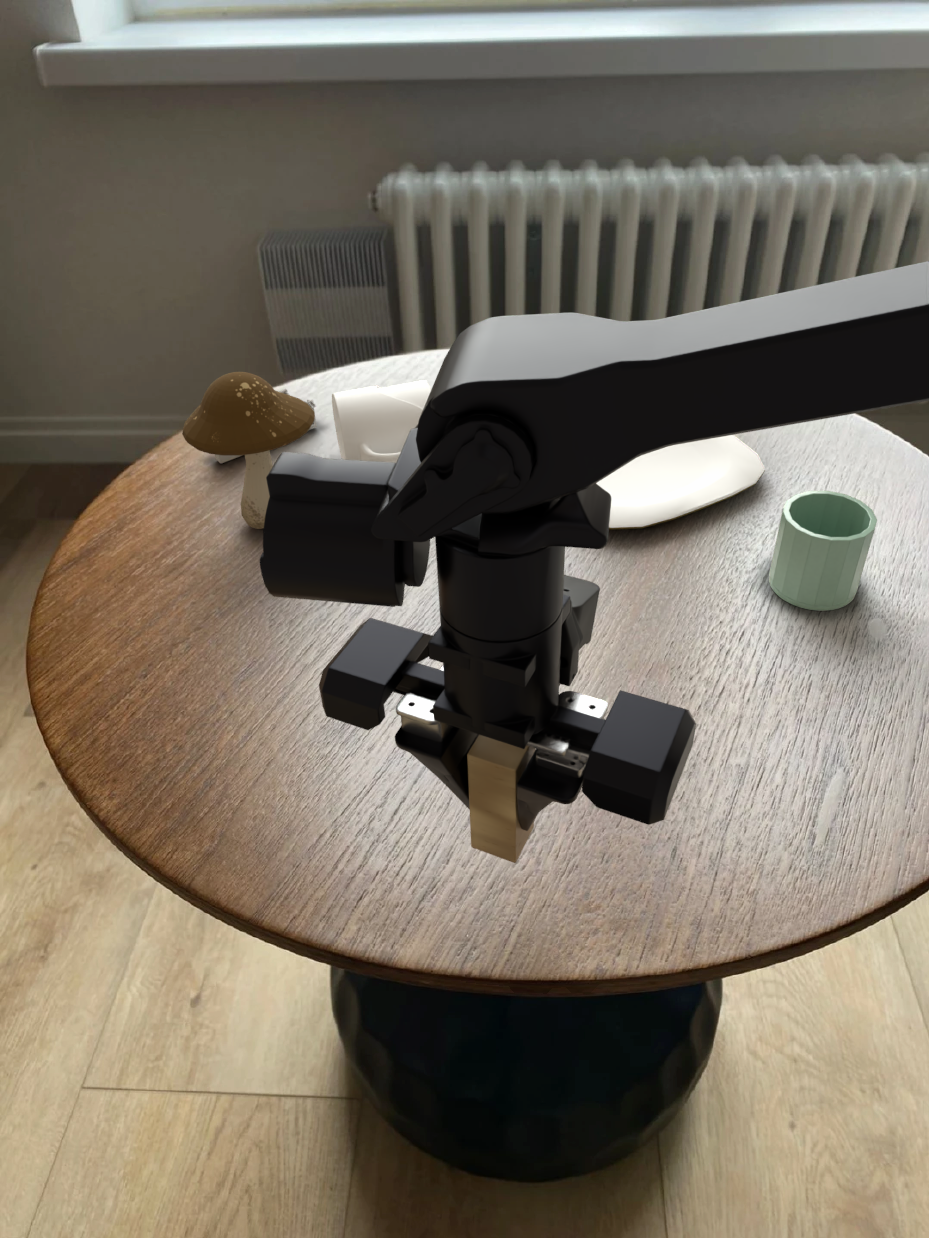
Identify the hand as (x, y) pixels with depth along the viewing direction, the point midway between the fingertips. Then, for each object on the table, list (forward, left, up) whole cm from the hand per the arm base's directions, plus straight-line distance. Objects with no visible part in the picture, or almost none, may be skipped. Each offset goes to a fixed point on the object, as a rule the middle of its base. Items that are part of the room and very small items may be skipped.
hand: (502, 815), depth 55 cm
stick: (0, 0, -2) cm, 2 cm away
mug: (+30, -41, -7) cm, 51 cm away
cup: (-12, -38, -7) cm, 40 cm away
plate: (+8, -50, -7) cm, 51 cm away
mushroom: (+36, -28, -7) cm, 46 cm away
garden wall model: (+44, -40, -7) cm, 60 cm away
